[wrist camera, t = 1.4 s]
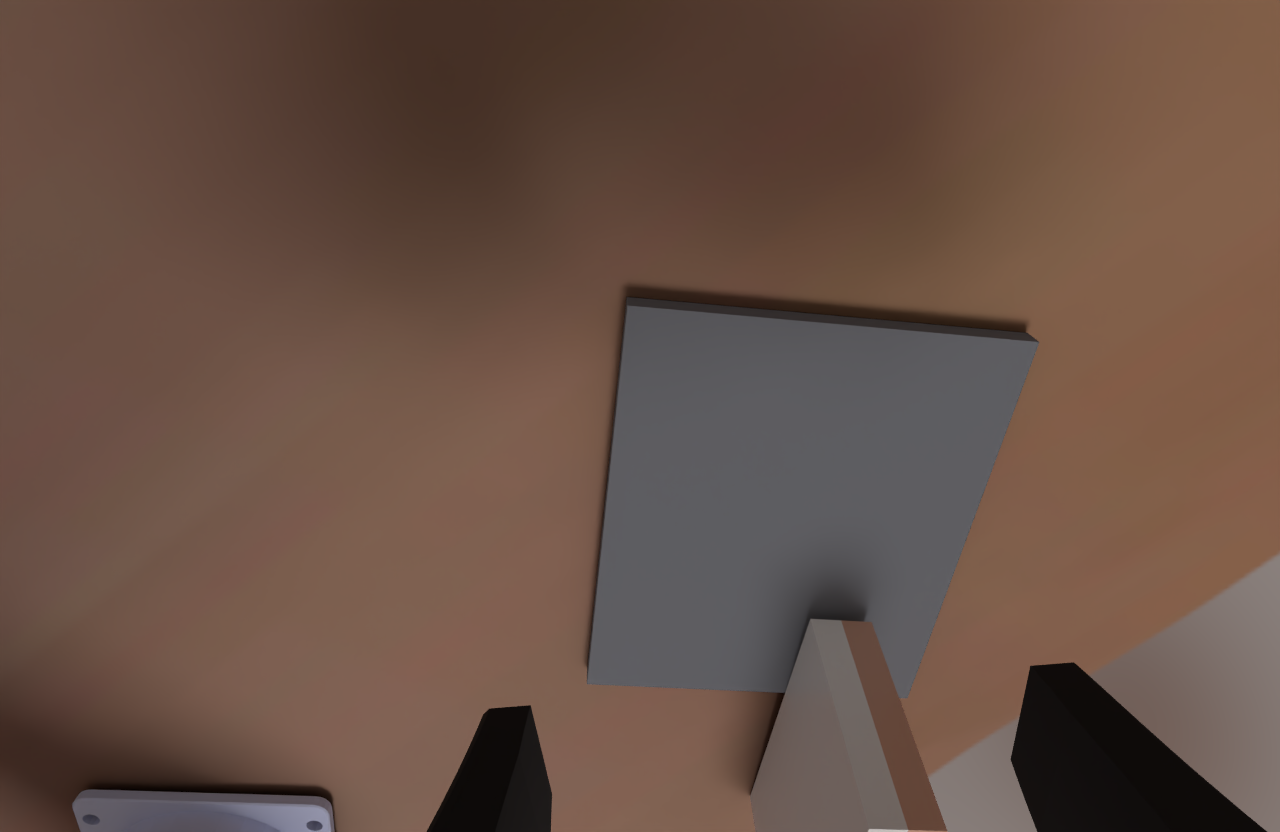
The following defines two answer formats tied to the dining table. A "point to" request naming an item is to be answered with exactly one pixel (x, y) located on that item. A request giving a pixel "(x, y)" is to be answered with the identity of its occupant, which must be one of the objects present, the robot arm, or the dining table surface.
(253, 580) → the dining table surface
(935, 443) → the mat
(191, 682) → the dining table surface
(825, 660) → the tile
